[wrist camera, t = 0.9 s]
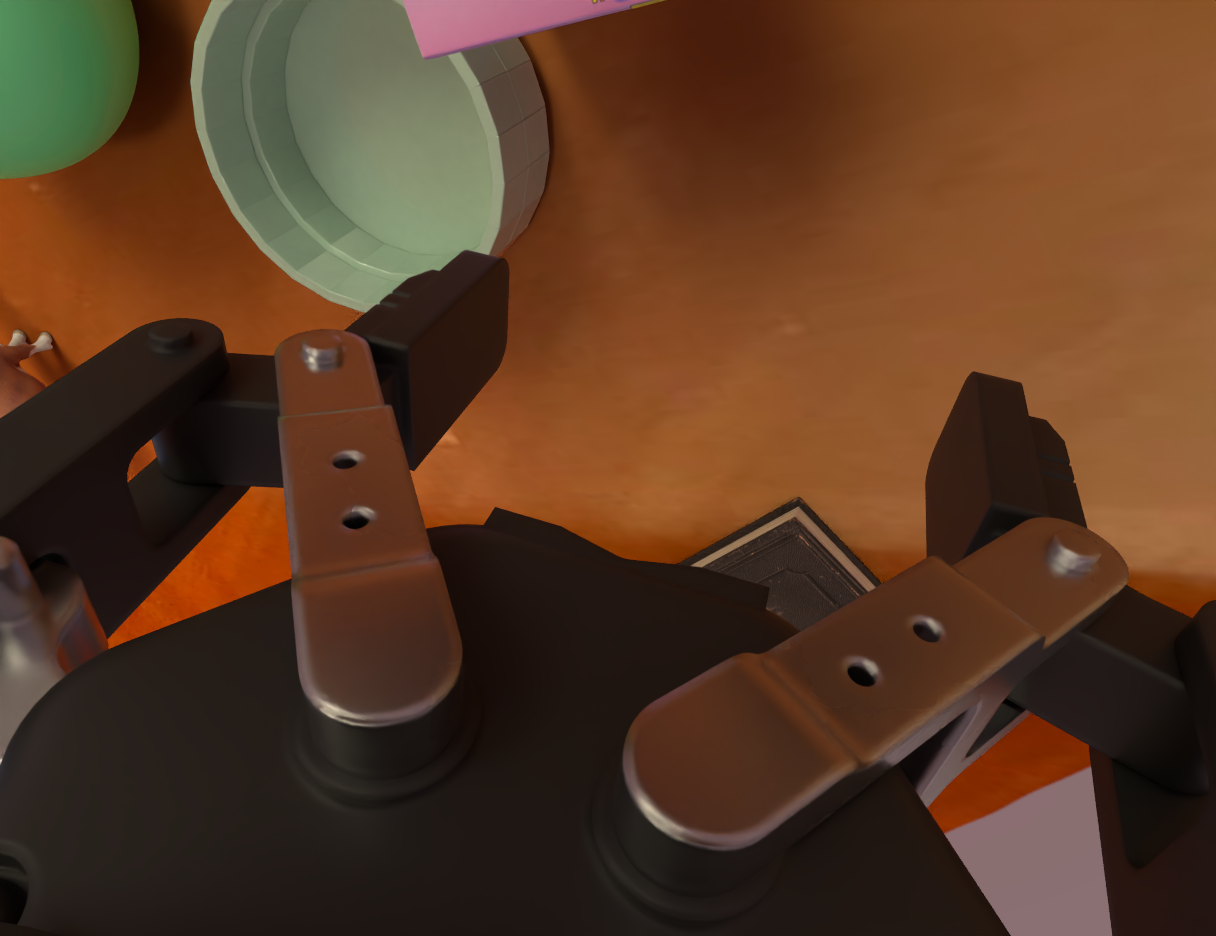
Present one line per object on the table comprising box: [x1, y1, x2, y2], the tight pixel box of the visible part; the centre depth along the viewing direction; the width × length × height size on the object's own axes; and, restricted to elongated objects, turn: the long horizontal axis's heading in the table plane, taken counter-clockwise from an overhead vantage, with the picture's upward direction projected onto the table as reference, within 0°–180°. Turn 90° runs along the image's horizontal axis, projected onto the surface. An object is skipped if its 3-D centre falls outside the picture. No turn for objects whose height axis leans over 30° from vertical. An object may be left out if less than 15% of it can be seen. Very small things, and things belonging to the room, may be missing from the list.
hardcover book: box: [677, 497, 882, 631], centre depth 56 cm, size 16×23×2 cm
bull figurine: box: [0, 330, 53, 418], centre depth 57 cm, size 4×13×8 cm, turn 30°
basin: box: [190, 0, 550, 313], centre depth 39 cm, size 16×16×6 cm
